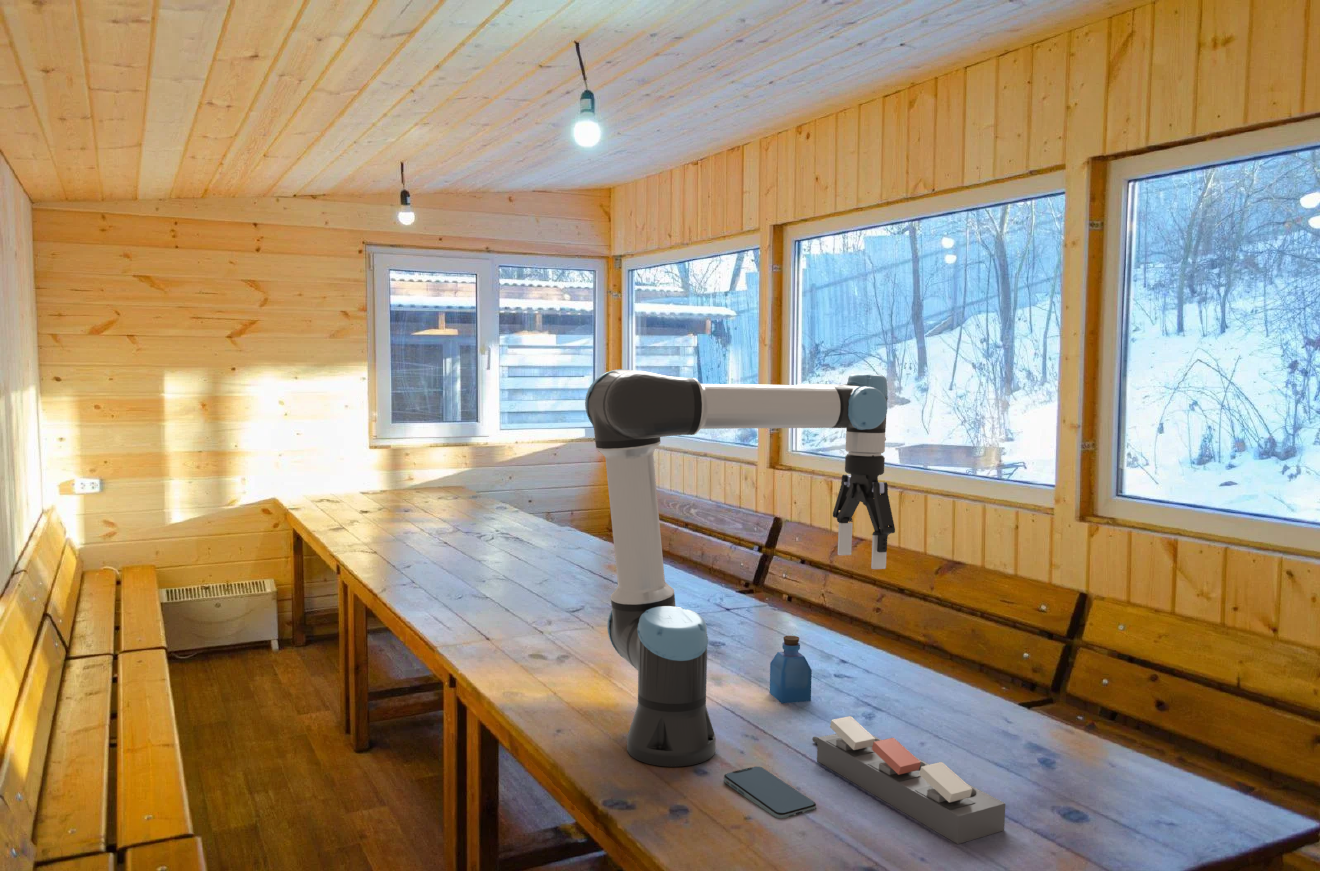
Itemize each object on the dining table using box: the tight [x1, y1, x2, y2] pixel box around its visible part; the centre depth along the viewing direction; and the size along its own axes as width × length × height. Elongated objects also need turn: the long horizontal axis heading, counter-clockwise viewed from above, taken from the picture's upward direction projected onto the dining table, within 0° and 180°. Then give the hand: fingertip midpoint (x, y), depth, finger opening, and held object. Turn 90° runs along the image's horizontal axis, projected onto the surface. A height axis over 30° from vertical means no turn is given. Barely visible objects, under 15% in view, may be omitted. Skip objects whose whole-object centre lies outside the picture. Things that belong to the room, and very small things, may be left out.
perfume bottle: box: [769, 635, 813, 704], centre depth 198 cm, size 6×6×12 cm
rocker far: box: [829, 715, 875, 750], centre depth 163 cm, size 6×4×1 cm, turn 28°
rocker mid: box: [872, 737, 921, 775], centre depth 153 cm, size 6×4×1 cm, turn 28°
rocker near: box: [919, 761, 972, 803], centre depth 144 cm, size 6×4×1 cm, turn 28°
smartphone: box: [723, 766, 817, 819], centre depth 154 cm, size 8×2×15 cm
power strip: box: [812, 733, 1006, 845], centre depth 158 cm, size 39×9×5 cm, turn 28°
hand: (860, 561), depth 196 cm, fingers open, 13 cm apart
